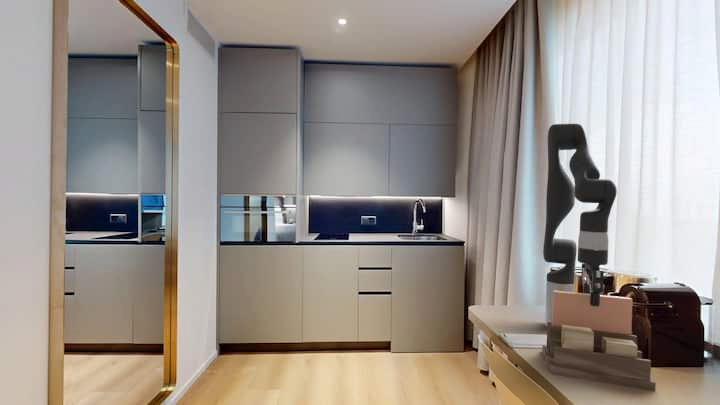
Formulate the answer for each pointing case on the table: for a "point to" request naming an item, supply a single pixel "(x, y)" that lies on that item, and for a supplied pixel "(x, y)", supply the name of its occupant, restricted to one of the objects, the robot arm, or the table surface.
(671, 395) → the table surface
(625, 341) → the offcut stack
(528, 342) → the baseboard molding
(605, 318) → the terracotta board
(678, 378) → the table surface
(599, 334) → the walnut rack
